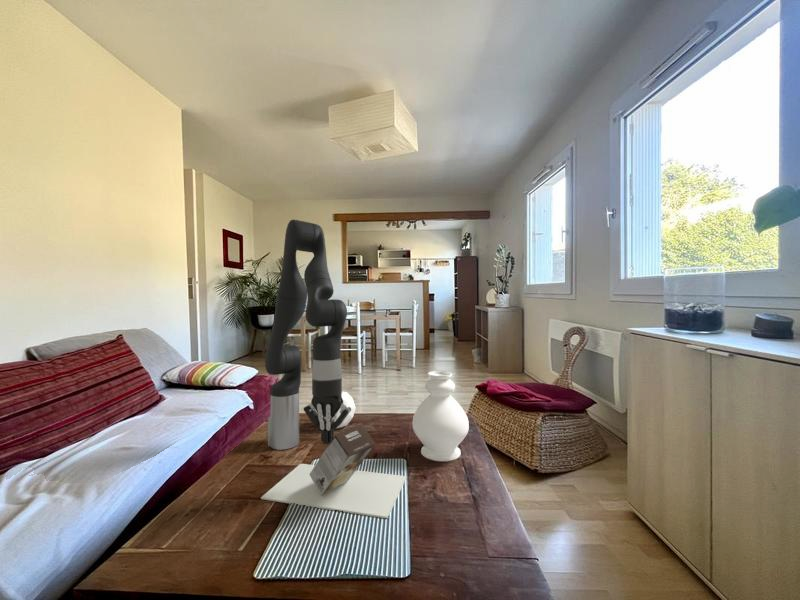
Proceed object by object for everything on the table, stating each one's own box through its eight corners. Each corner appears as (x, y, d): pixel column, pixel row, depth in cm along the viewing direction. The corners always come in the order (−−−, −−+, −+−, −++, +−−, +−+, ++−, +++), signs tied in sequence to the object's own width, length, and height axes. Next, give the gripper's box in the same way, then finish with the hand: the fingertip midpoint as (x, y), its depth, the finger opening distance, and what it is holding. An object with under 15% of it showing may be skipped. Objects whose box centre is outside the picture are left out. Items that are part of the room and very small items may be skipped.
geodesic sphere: (320, 421, 118) (341, 385, 124) (303, 412, 129) (323, 379, 135) (349, 439, 126) (368, 404, 132) (331, 428, 137) (349, 396, 143)
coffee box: (335, 460, 92) (362, 422, 86) (348, 481, 89) (377, 443, 83) (308, 474, 85) (335, 434, 78) (320, 497, 81) (350, 457, 75)
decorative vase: (402, 457, 103) (402, 376, 104) (426, 437, 119) (425, 366, 119) (458, 470, 95) (458, 381, 95) (475, 447, 111) (474, 370, 111)
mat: (261, 499, 82) (261, 497, 82) (300, 464, 99) (300, 463, 99) (387, 518, 74) (387, 516, 74) (406, 477, 91) (406, 476, 91)
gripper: (296, 378, 85) (296, 446, 85) (344, 380, 82) (345, 452, 82) (311, 372, 93) (311, 435, 92) (356, 374, 89) (356, 440, 89)
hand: (327, 443), depth 87 cm, fingers closed
